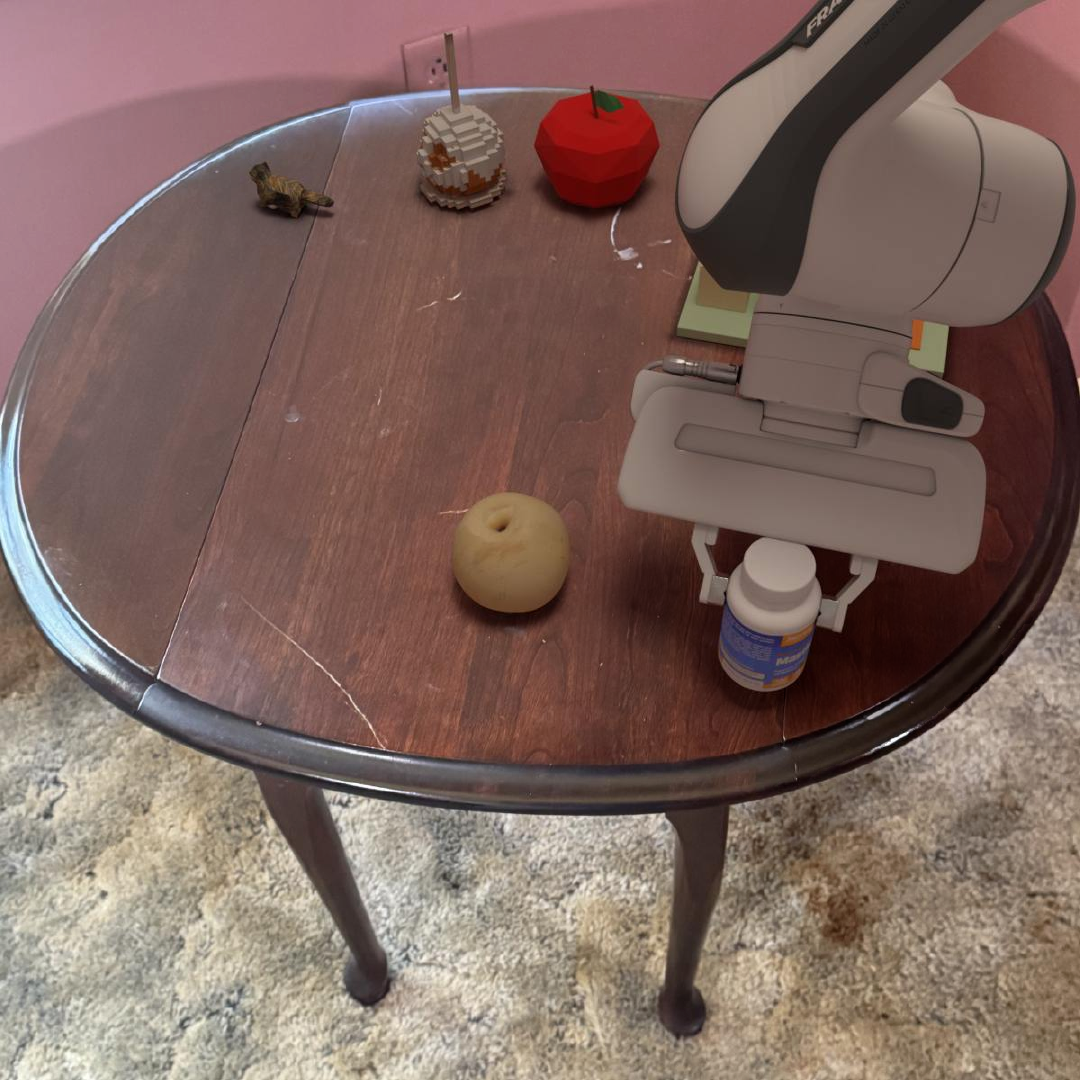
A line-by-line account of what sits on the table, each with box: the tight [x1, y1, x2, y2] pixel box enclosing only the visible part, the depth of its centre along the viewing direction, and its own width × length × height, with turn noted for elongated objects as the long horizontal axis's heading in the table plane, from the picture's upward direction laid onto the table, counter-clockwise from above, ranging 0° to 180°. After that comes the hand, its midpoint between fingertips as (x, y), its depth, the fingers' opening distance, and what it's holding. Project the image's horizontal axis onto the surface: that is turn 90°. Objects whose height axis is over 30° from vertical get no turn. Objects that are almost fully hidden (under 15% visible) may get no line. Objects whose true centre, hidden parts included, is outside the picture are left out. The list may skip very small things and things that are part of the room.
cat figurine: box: [249, 161, 335, 218], centre depth 102 cm, size 3×8×4 cm, turn 74°
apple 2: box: [533, 84, 661, 210], centre depth 100 cm, size 11×11×10 cm
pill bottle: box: [717, 536, 823, 693], centre depth 65 cm, size 5×5×10 cm
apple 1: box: [450, 491, 571, 613], centre depth 74 cm, size 8×8×8 cm
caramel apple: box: [415, 30, 507, 210], centre depth 98 cm, size 8×8×15 cm
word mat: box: [676, 260, 950, 380], centre depth 90 cm, size 21×10×5 cm, turn 73°
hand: (770, 616), depth 65 cm, fingers closed on pill bottle, 5 cm apart
